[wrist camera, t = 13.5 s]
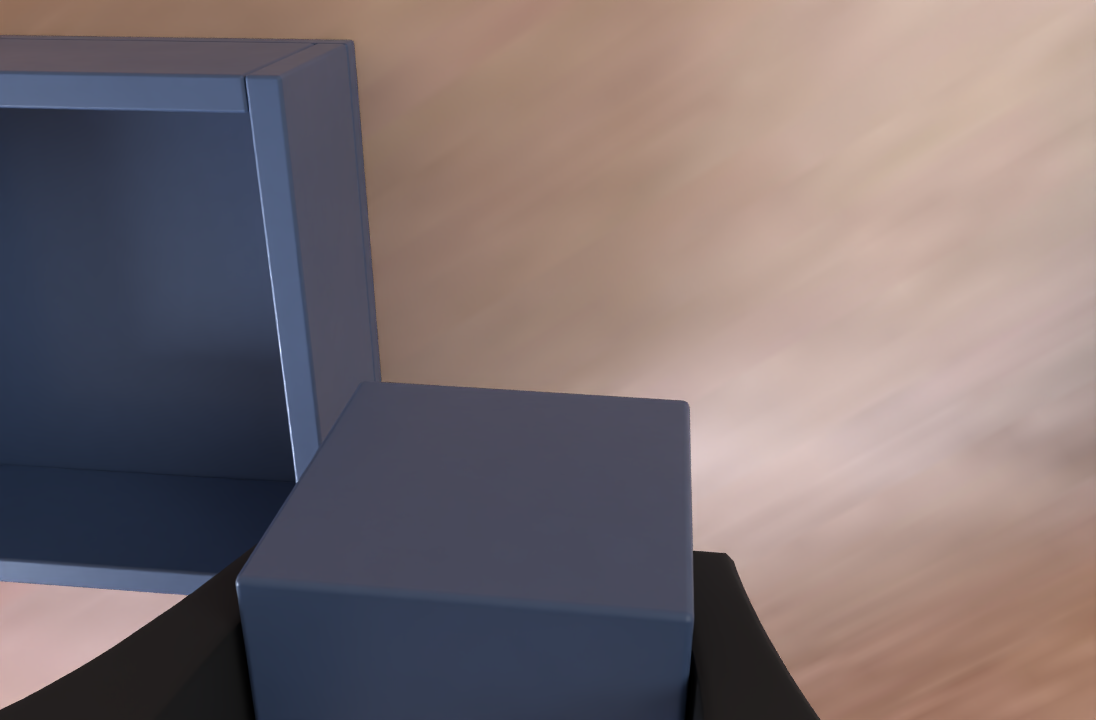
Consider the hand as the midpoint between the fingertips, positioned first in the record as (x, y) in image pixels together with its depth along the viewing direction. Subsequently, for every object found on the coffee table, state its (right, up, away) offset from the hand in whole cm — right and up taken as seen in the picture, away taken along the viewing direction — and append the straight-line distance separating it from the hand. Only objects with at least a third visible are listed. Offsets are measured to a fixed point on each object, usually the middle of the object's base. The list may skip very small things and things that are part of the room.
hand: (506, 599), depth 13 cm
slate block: (0, +1, +1) cm, 2 cm away
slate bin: (-8, +5, +9) cm, 13 cm away
